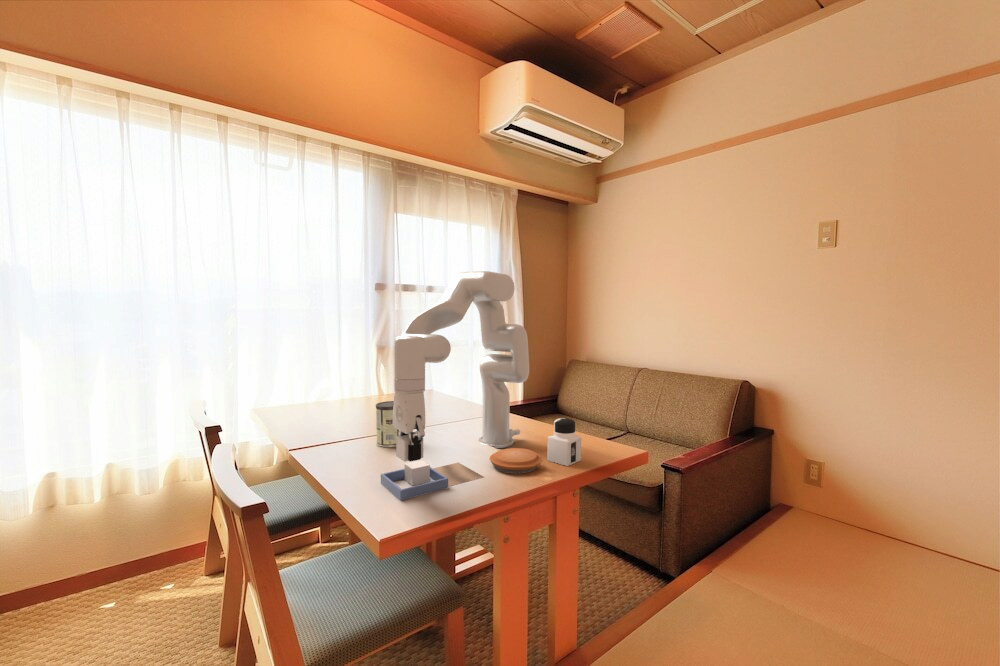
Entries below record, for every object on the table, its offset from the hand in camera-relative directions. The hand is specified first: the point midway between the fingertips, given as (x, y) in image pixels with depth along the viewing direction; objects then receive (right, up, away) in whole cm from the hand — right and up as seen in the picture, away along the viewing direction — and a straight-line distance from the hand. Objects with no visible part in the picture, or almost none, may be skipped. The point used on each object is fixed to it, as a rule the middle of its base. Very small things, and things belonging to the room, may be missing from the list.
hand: (409, 456), depth 107 cm
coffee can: (-16, -8, +44) cm, 48 cm away
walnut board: (+10, -10, +12) cm, 18 cm away
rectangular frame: (0, -10, +4) cm, 11 cm away
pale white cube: (0, 0, 0) cm, 0 cm away
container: (+43, -9, +26) cm, 51 cm away
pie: (+27, -10, +19) cm, 34 cm away
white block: (+1, -9, +7) cm, 12 cm away
